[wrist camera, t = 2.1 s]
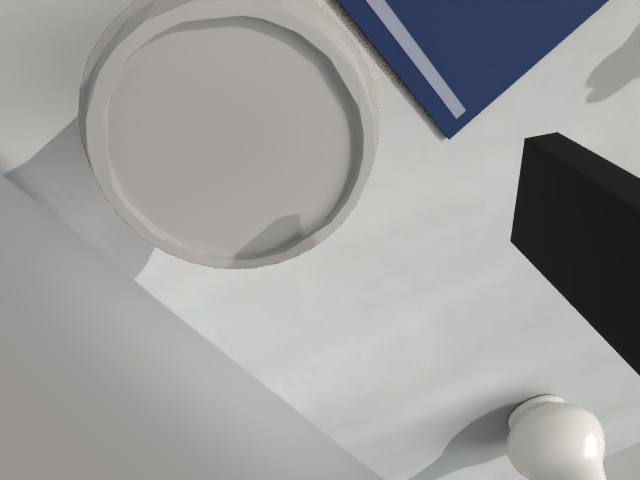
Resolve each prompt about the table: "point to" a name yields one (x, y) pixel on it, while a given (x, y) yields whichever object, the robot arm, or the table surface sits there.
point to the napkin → (464, 46)
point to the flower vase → (556, 441)
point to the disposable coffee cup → (229, 126)
